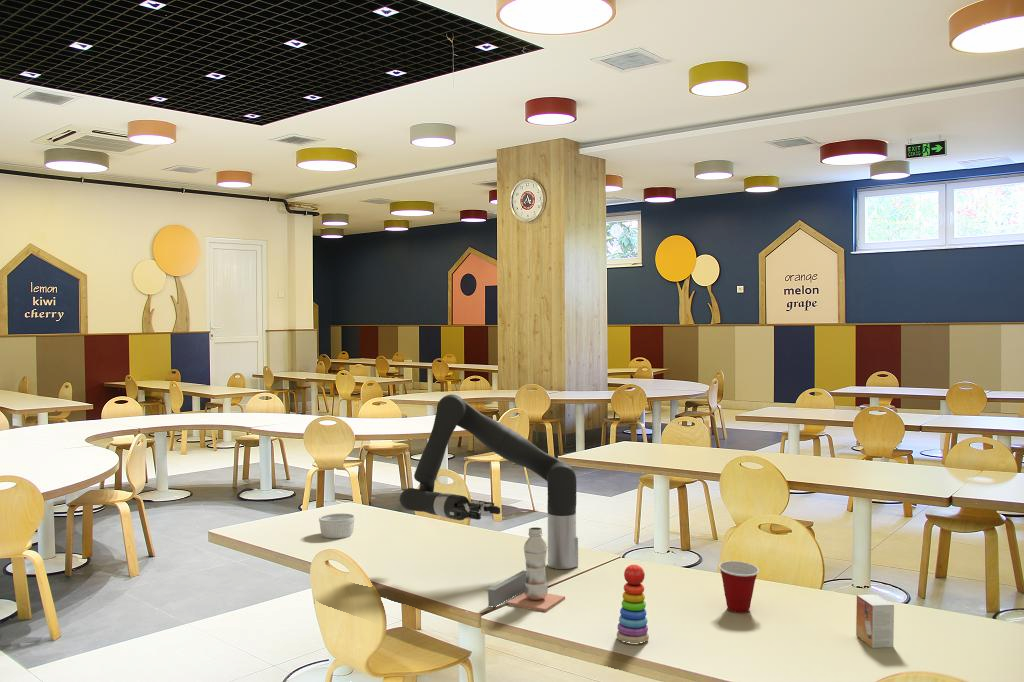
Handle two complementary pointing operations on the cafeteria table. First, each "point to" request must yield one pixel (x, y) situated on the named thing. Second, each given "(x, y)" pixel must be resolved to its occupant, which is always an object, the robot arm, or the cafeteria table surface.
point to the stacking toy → (633, 608)
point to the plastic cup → (738, 584)
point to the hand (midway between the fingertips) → (489, 513)
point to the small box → (875, 621)
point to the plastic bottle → (535, 565)
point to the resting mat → (537, 602)
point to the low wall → (506, 589)
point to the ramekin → (337, 525)
